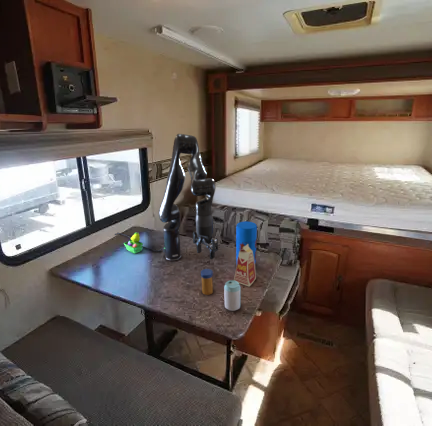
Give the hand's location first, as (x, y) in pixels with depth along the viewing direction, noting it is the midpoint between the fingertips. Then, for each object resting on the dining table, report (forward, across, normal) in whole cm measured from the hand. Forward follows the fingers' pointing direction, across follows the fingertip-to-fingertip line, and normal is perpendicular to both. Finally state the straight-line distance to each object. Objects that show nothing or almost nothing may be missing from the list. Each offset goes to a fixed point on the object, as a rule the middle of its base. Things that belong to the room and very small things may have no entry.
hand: (205, 255), depth 131 cm
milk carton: (+20, -7, -20) cm, 29 cm away
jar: (+20, 0, 0) cm, 20 cm away
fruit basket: (+20, +66, +1) cm, 69 cm away
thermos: (+20, +1, -31) cm, 37 cm away
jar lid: (+9, 0, 0) cm, 9 cm away
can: (+20, -16, 0) cm, 26 cm away
